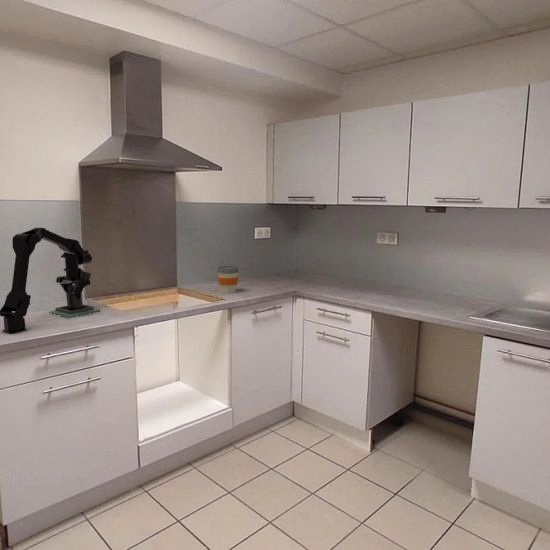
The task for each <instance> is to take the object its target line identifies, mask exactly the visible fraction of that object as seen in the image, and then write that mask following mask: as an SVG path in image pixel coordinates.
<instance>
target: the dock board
mask: <svg viewBox="0 0 550 550" xmlns="http://www.w3.org/2000/svg"><path fill="white" fill-rule="evenodd" d="M98 311H99V312H101V309H99V308H95V307H94V306H93V305H87V304H84V303H83V308H82V309H77V310H73V311H70V310H68V308H67V305H63V306H58V307H55V309H54V310H49V312H48V314H50V313H52V314H51V315H54V314H56V315H55V316H58V315H60V316H59V317H62V316H63V317H62V318H66V317H67V318H66V319H73V318H77V317H76V316H78V317H81V316H80V315H82V316H85V315H84V314H86V315H89V314H88V313H91V314H94V313H93V312H95V313H99V312H98ZM72 317H73V318H72Z"/></svg>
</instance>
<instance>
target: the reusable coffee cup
mask: <svg viewBox="0 0 550 550" xmlns="http://www.w3.org/2000/svg"><path fill="white" fill-rule="evenodd" d="M217 273H218V274H217V275H218V277H217V279H218V285H219V287H220V293H222V294H235V293H236V292H237V285H238V280H239V266H234V265H233V266H232V265H225V266H224V265H223V266H218V267H217Z"/></svg>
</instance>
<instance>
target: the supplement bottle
mask: <svg viewBox="0 0 550 550" xmlns="http://www.w3.org/2000/svg"><path fill="white" fill-rule="evenodd" d="M73 286H75V285H74V284H73V285H69V286H68V292H67V293H66V292H65V297H66V306H67V308H68V310H70V311H73V310H77V309H82V308H83V304H84V302H83V294H81V297H80V299H77V297H76V295H75V292H74V289H73Z"/></svg>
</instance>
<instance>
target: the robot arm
mask: <svg viewBox="0 0 550 550" xmlns="http://www.w3.org/2000/svg"><path fill="white" fill-rule="evenodd" d="M11 240H12V249H13V252H14V254H15V259H14V266H13V267H14V268H13V275H12V284H11V289H10V291H9V292H8V293H7V295H6V297H5V301H4V304H3V305H2V307H1V308H0V317H3V327H4V329H2V332H3V333H7V334H15V333H20V332H24V331H27V328H26V319H25V317H26V316H27V313H28V310H29V307H30V305H31V297H32V296H31V294H28V293H27V290H26V289H27V280H28V272H29V264H30V257H31V256H32V254H33V252H34V251H35V249H36V245H37V244H38V243H40V242H42V240H45V241H46V242H49V243H51V244H53V245H56V246H58V249H60V250H61V251H63V253H62V255H61V256H60V258H61V259H62V258H64V266H65V268H63V272H65V275H59V276H57V277H56V278H55V280H56V284H59V286H61V288H62V289H63V291H64V292H65V294H66V293H67V292H68V286H69V285H75V286H73V289H74V292H75V295H76V297H77V299H80V297H81V294H82V293H83V291H84V288H86V286H90V285H91V280H90V278H91V274H92V273H90V272H86V271H84V270H83V269H82V268H81V267H80V266H81V265H82V266H83V265H87V264H90V263H92V260H93V257H92V255H91V253H89V250H88V249H84V248H83V246H81V244H80V241H79V240H76V239H73V238H69V237H68V238H67V237H63V236H61V235H59V234H56V233H55V232H52V231H50V230H48V229H46V228H44V227H34V228H31V229H29V230H27V231H24V232H20V233H16V234H15V235H14V236H13V237H12V239H11ZM82 295H83V294H82Z"/></svg>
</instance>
